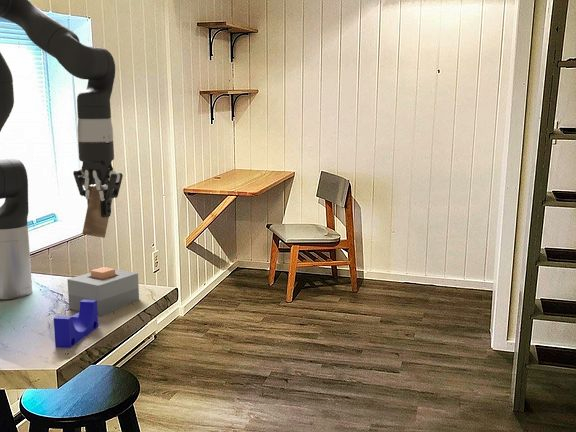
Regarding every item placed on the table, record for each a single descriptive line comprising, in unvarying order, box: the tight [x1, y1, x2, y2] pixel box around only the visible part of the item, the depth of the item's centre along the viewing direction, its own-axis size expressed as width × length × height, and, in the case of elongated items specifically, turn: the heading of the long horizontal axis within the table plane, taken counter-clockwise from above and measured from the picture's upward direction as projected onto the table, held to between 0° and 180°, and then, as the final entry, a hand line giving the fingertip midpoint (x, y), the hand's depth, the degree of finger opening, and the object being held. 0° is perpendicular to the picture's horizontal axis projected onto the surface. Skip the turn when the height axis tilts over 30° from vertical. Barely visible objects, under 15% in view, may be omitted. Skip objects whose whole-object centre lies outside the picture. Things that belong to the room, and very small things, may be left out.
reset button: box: [90, 266, 116, 280], centre depth 147 cm, size 4×4×3 cm
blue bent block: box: [53, 299, 99, 349], centre depth 128 cm, size 12×4×6 cm, turn 171°
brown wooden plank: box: [81, 186, 113, 238], centre depth 144 cm, size 4×4×11 cm
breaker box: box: [67, 267, 140, 317], centre depth 148 cm, size 10×12×7 cm
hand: (99, 215), depth 144 cm, fingers closed on brown wooden plank, 3 cm apart
